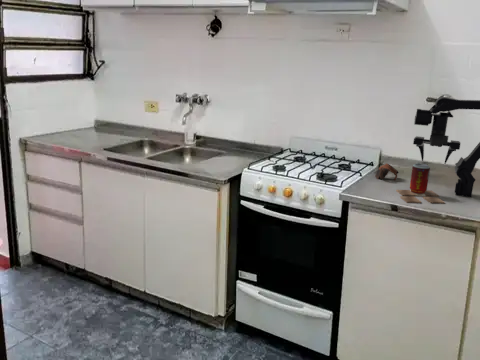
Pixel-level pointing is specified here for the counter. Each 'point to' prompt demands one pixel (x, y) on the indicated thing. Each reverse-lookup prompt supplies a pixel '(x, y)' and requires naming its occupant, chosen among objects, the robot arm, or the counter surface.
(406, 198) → the lane broken
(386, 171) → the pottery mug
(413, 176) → the soda can
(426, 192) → the brown wooden board
